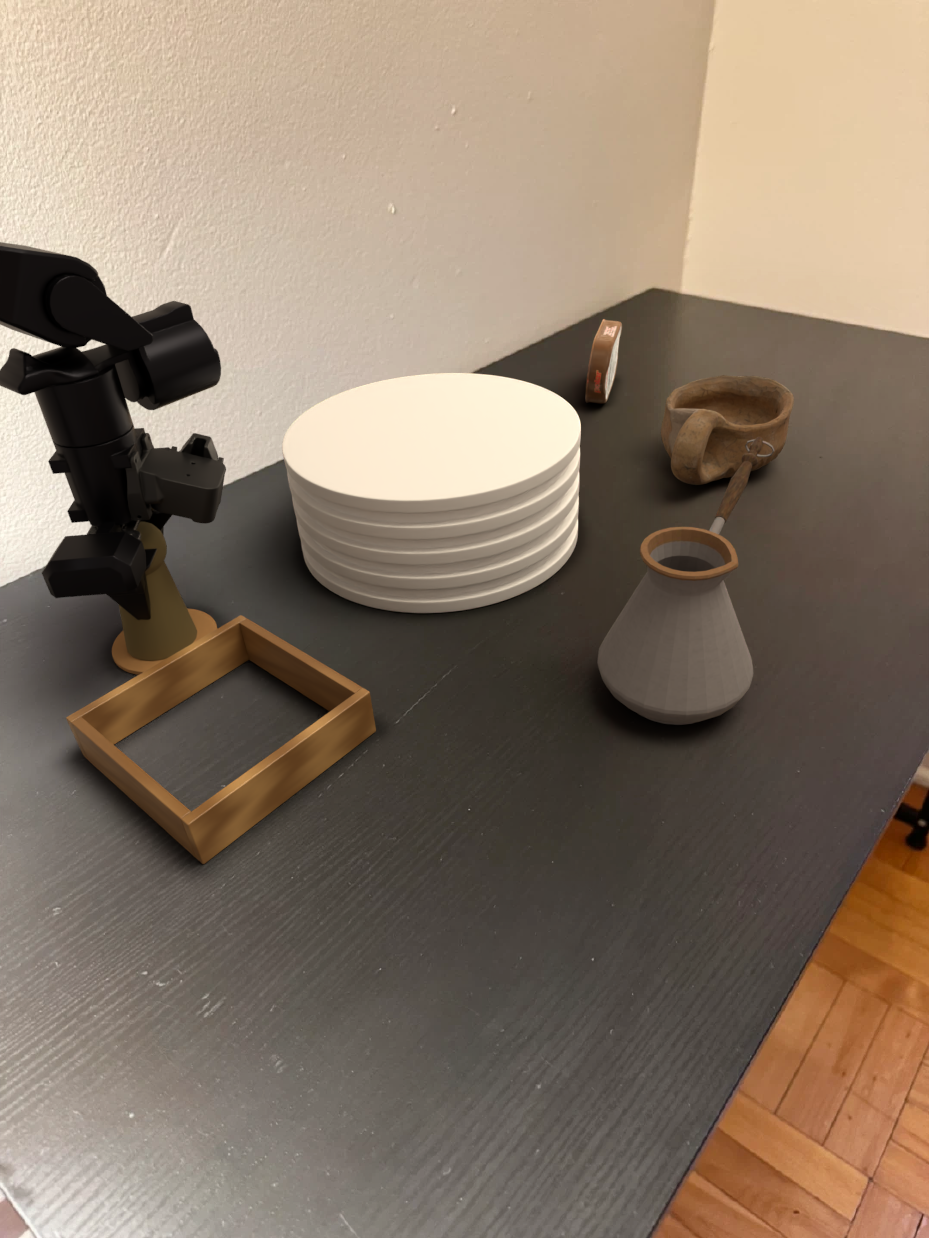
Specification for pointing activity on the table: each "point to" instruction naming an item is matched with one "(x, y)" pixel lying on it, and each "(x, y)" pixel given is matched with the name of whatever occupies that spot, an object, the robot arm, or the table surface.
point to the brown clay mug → (723, 425)
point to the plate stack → (435, 490)
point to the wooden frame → (264, 781)
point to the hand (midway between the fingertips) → (151, 603)
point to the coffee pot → (682, 623)
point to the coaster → (137, 666)
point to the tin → (603, 361)
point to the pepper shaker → (158, 608)
